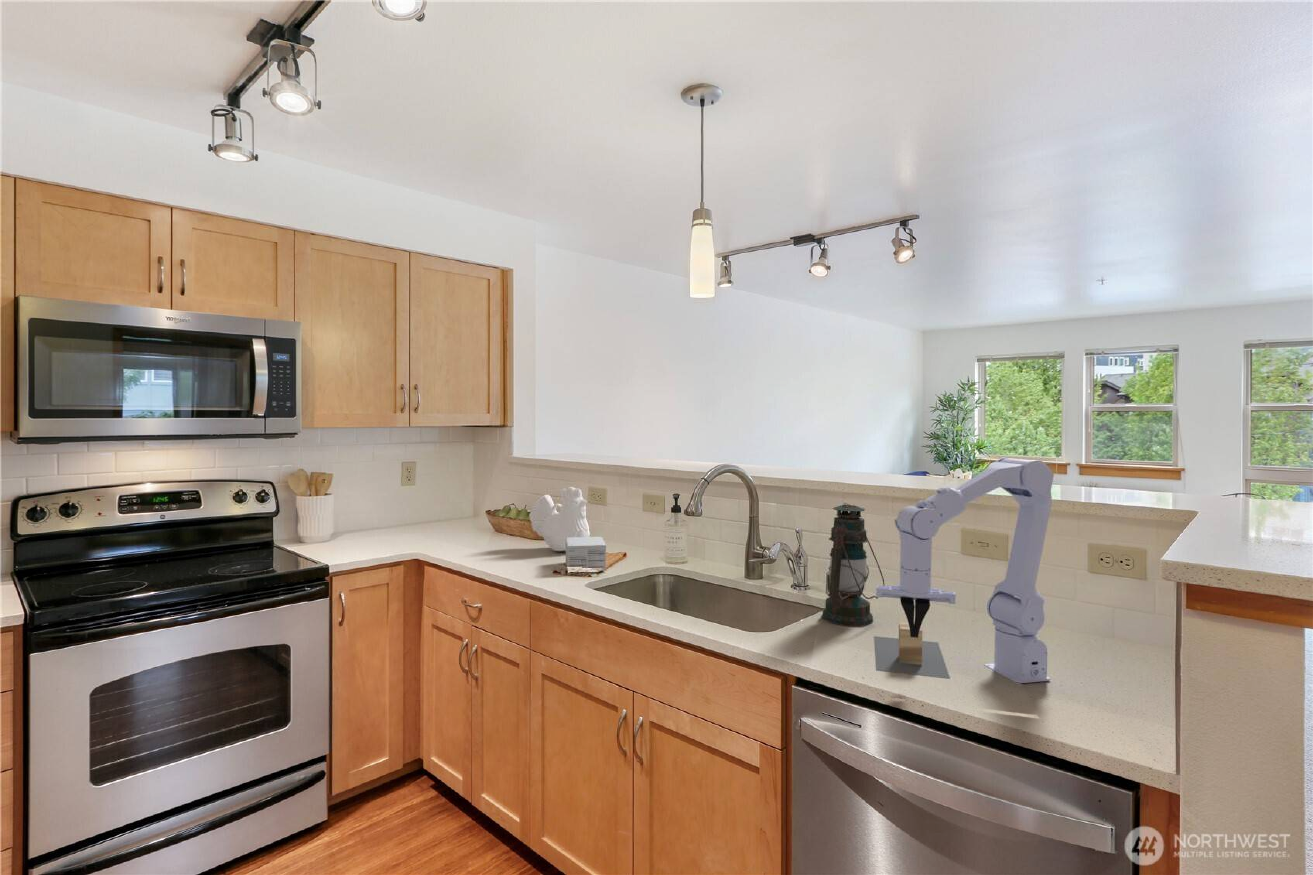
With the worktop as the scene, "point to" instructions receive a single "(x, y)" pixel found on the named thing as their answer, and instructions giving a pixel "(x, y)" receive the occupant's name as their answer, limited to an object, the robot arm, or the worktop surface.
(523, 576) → the worktop surface
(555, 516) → the decorative rooster
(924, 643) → the mat
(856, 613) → the lantern
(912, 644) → the oak block
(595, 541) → the supplement box
